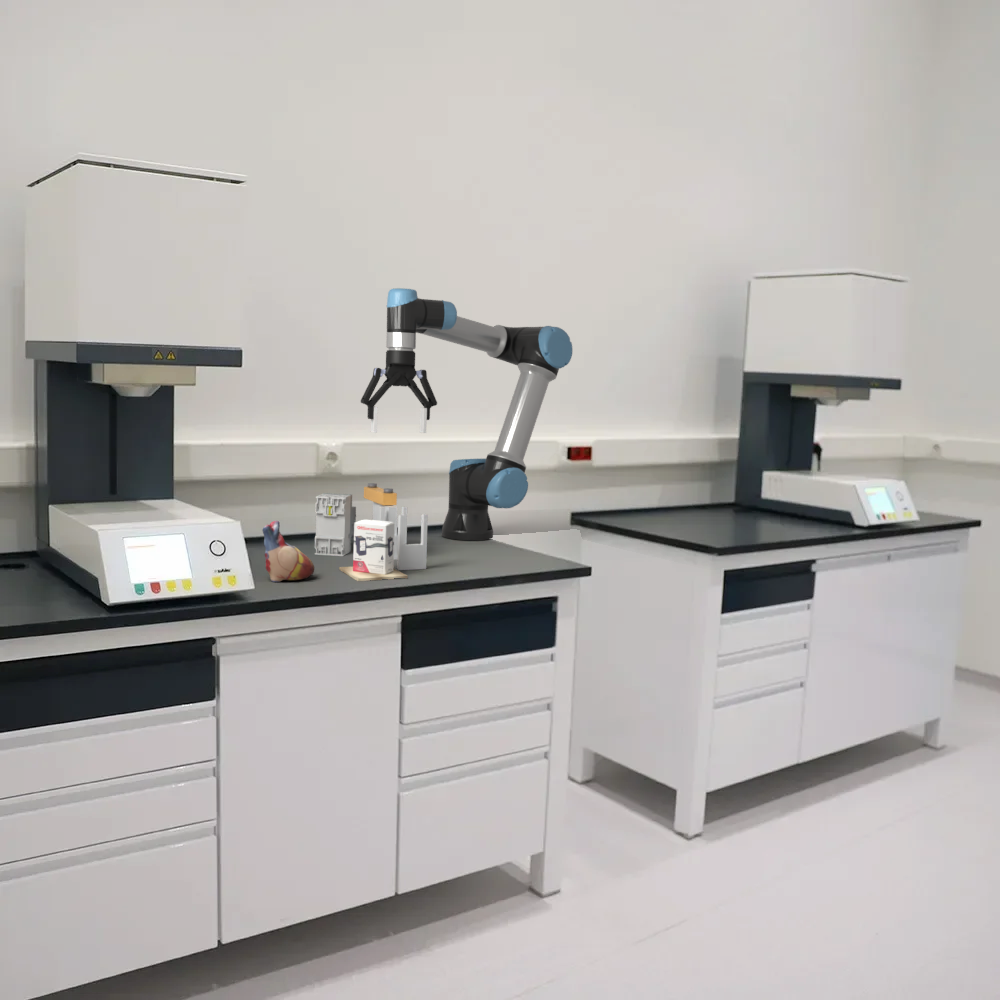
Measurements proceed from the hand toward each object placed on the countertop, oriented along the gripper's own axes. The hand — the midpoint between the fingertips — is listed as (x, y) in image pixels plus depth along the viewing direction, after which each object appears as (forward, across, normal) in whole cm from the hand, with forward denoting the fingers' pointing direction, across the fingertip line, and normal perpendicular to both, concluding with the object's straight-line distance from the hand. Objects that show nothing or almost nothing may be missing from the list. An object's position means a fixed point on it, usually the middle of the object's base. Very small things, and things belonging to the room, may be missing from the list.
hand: (398, 432), depth 259 cm
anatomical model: (+32, +35, +26) cm, 54 cm away
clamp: (+32, +4, +9) cm, 33 cm away
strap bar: (+18, +4, -2) cm, 19 cm away
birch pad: (+32, +15, +25) cm, 43 cm away
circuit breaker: (+32, +14, -7) cm, 36 cm away
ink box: (+31, +15, +25) cm, 43 cm away
